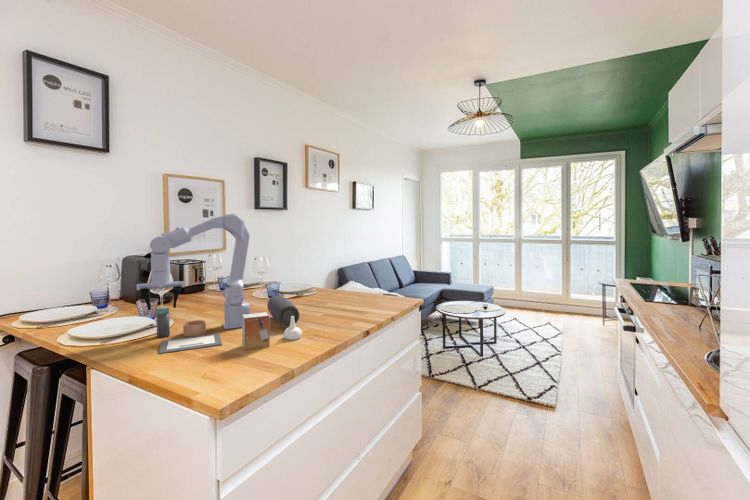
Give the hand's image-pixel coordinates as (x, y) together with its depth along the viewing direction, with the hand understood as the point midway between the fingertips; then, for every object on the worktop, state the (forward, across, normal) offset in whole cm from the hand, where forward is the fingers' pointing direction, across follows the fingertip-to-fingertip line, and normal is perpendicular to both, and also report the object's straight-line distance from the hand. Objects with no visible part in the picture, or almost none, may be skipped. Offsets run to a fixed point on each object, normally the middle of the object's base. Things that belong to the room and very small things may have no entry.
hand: (162, 308), depth 124 cm
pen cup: (+10, -10, +2) cm, 14 cm away
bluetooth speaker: (+10, -42, +2) cm, 43 cm away
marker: (+10, 0, 0) cm, 10 cm away
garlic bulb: (+10, -41, +23) cm, 48 cm away
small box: (+10, -28, +26) cm, 40 cm away
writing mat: (+10, -9, +14) cm, 19 cm away
